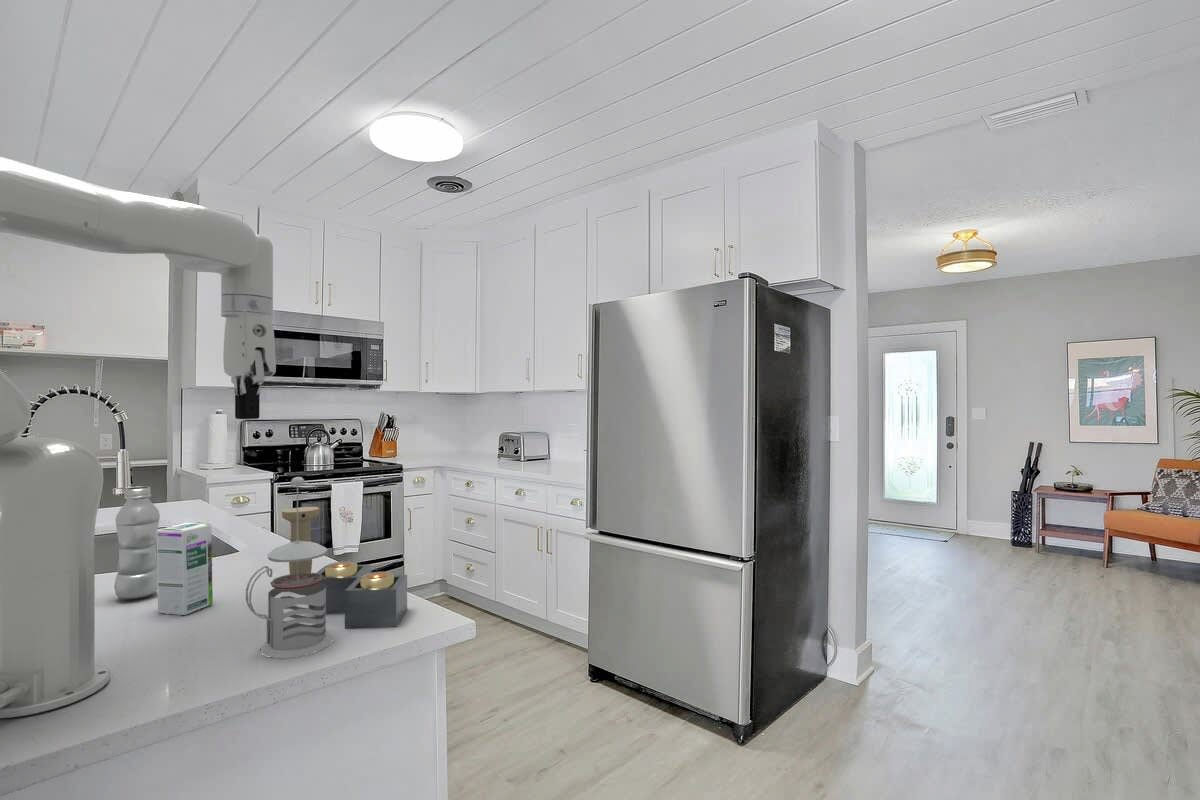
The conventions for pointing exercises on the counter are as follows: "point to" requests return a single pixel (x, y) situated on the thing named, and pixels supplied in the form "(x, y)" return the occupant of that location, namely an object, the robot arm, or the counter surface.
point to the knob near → (377, 580)
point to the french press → (294, 602)
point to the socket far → (339, 588)
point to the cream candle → (341, 569)
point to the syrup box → (184, 568)
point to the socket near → (375, 604)
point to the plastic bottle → (137, 545)
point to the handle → (300, 533)
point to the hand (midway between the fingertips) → (247, 418)
